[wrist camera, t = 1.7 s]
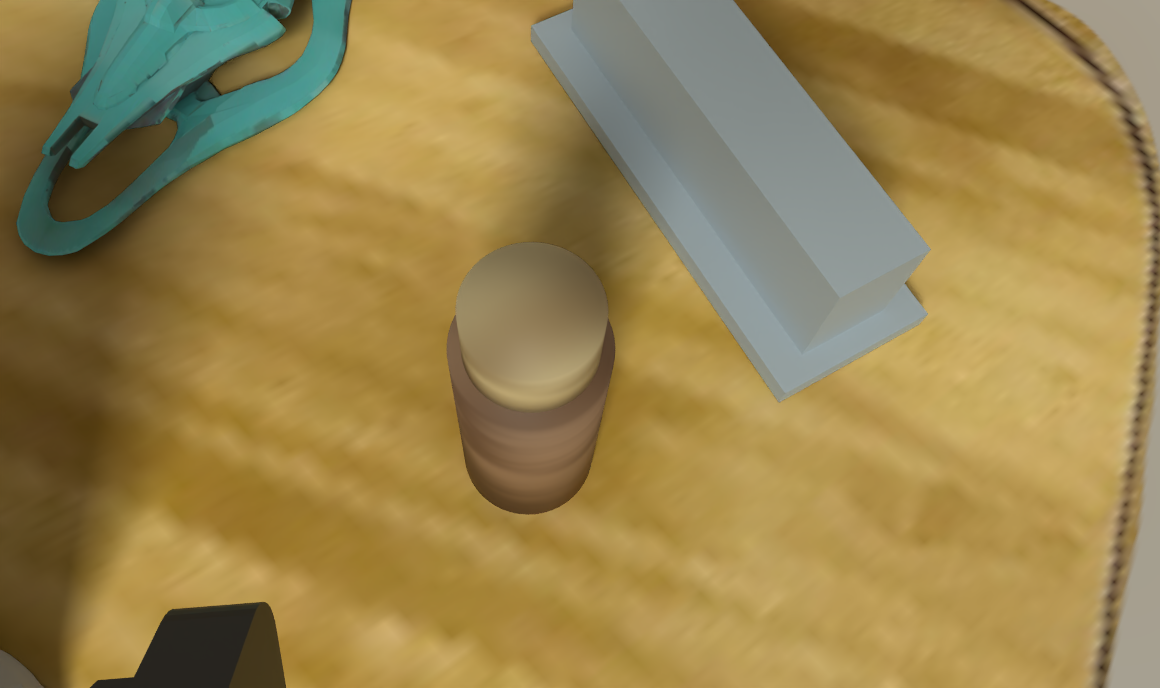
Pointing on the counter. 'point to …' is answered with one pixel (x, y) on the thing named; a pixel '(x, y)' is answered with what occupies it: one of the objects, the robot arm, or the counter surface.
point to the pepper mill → (530, 374)
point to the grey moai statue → (15, 673)
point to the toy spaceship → (172, 96)
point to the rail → (742, 180)
